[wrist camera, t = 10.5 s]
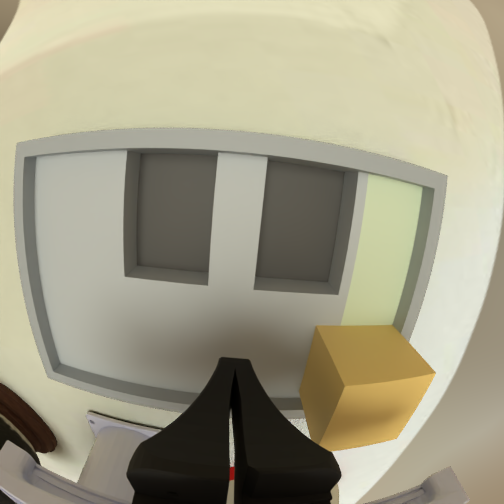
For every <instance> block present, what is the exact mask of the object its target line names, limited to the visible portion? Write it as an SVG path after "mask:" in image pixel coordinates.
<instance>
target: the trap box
mask: <svg viewBox="0 0 504 504" xmlns="http://www.w3.org/2000/svg"><path fill="white" fill-rule="evenodd" d="M447 177H448V176H447V175H444V174H442V173H439V172H436V171H433V170H430V169H427V168H424V167H421V166H417V165H414V164H411V163H408V162H404V161H401V160H397V159H394V158H390V157H386V156H382V155H379V154H375V153H371V152H366V151H362V150H358V149H353V148H349V147H344V146H339V145H334V144H329V143H324V142H319V141H313V140H307V139H301V138H294V137H287V136H280V135H272V134H264V133H255V132H245V131H233V130H219V129H199V128H134V129H115V130H101V131H90V132H81V133H72V134H65V135H58V136H51V137H45V138H39V139H34V140H29V141H24V142H19V143H17V145H16V155H15V169H14V227H15V240H16V250H17V259H18V266H19V273H20V279H21V285H22V290H23V295H24V300H25V305H26V309H27V313H28V317H29V321H30V325H31V329H32V332H33V336H34V339H35V342H36V345H37V349H38V352H39V355H40V358H41V360H42V363H43V366H44V369H45V371H46V374H47V377H48V378H50V379H53V380H55V381H58V382H60V383H63V384H66V385H69V386H72V387H75V388H78V389H81V390H84V391H87V392H90V393H94V394H97V395H100V396H104V397H108V398H111V399H115V400H119V401H123V402H127V403H132V404H136V405H141V406H146V407H151V408H156V409H162V410H167V411H174V412H180V413H183V412H184V411H185V410H186V409H187V408H188V407H189V406H190V405H191V404H192V403H193V402H194V401H195V399H196V398H197V397H198V396H199V394H200V393H201V392H202V390H203V389H204V388H205V386H206V385H207V383H208V381H209V380H210V378H211V376H212V375H213V373H214V371H215V369H216V366H217V364H218V361H219V358H221V357H229V358H242V359H249V360H250V361H251V364H252V367H253V369H254V371H255V374H256V376H257V378H258V380H259V382H260V383H261V385H262V387H263V388H264V390H265V392H266V393H267V395H268V396H269V398H270V399H271V401H272V402H273V403H274V405H275V406H276V407H277V408H278V410H279V411H280V412H281V413H282V414H283V415H284V417H285V418H286V419H301V418H305V414H304V410H303V406H302V402H301V398H300V394H299V389H300V386H301V382H302V378H303V375H304V371H305V367H306V364H307V360H308V356H309V352H310V348H311V344H312V340H313V336H314V331H315V327H316V325H335V326H361V325H393V326H394V327H395V328H396V329H397V330H398V331H399V332H400V334H401V335H402V336H403V337H404V338H405V339H406V340H407V341H408V342H409V340H410V338H411V335H412V332H413V330H414V327H415V324H416V321H417V318H418V315H419V312H420V309H421V306H422V303H423V300H424V296H425V293H426V290H427V286H428V282H429V279H430V275H431V271H432V267H433V263H434V259H435V254H436V250H437V245H438V240H439V235H440V229H441V224H442V218H443V211H444V204H445V196H446V187H447ZM230 418H232V413H231V411H230Z"/></svg>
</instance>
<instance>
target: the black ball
mask: <svg viewBox="0 0 504 504" xmlns="http://www.w3.org/2000/svg"><path fill="white" fill-rule="evenodd" d="M7 440H8V441H10V442H12V443H13V444H15V445H16V446H18V447H20V448H21V449H23V450H24V451H26V452H27V453H28V454H30V455H31V457H32V458H33V459H34V460H35V462H36V463H37V464H39V465H40V466H41V464H40V461H39V458H38V456H37V454H36V452H40V453H47V452H52V451H54V450H55V448H56V446H57V441H56V438H55V436H54V435H53V433H52V431H51V430H50V429H49V427H48V426H47V425H46V424H45V422H44V421H43V420H42V419H41V418H40V417H39V416H38V414H37V413H36V412H35V411H34V410H33V409H32V408H31V407H30V406H29V405H28V404H27V403H26V402H24V401H23V400H22V399H21V398H20V397H19V396H18V395H17V394H15V393H14V392H13V391H12V390H10V389H9V388H8V387H6V386H5V385H3V384H2V383H0V450H1V449H2V447H3V446H4V444H5V443H6V441H7ZM0 504H17V503H16V502H14V501H13V500H12V499H11V498H10V497H8V496H7V495H6V494H5V493H4V492H3V491H2V490H0Z"/></svg>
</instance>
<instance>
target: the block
mask: <svg viewBox="0 0 504 504" xmlns="http://www.w3.org/2000/svg"><path fill="white" fill-rule="evenodd" d="M435 374H436V373H435V371H434V370H433V369H432V368H431V367H430V366H429V365H428V363H427V362H426V361H425V360H424V359H423V358H422V357H421V355H420V354H419V353H418V352H417V351H416V350H415V349H414V348H413V347H412V346H411V344H410V343H409V342H408V341H407V340H406V339H405V338H404V337H403V336H402V335H401V334H400V332H399V331H398V330H397V329H396V328H395V327H394V326H393V325H361V326H335V325H316V327H315V331H314V336H313V340H312V344H311V348H310V352H309V356H308V360H307V364H306V367H305V371H304V375H303V378H302V382H301V386H300V389H299V394H300V398H301V402H302V406H303V410H304V414H305V418H306V422H307V426H308V429H309V433H310V437H311V440H312V441H313V442H315V443H316V444H318V445H320V446H322V447H323V448H325V449H327V450H328V451H338V450H344V449H351V448H356V447H362V446H367V445H372V444H376V443H381V442H385V441H389V440H393V439H396V438H397V437H398V436H399V434H400V433H401V431H402V430H403V428H404V427H405V425H406V424H407V422H408V421H409V419H410V418H411V416H412V415H413V413H414V411H415V410H416V408H417V406H418V405H419V403H420V401H421V400H422V398H423V396H424V394H425V393H426V391H427V389H428V387H429V385H430V384H431V382H432V380H433V378H434V376H435Z"/></svg>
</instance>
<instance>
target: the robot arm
mask: <svg viewBox="0 0 504 504" xmlns="http://www.w3.org/2000/svg"><path fill="white" fill-rule="evenodd" d="M230 411H231V413H232V425H233V436H234V449H235V462H234V504H331V502H330V501H331V500H332V494H331V490H332V489H333V487H334V486H335V485H336V484H337V483H338V481H339V480H340V478H341V471H340V468H339V465H338V463H337V461H336V459H335V457H334V455H333V453H332V452H330V451H328V450H327V449H325V448H323V447H322V446H320V445H318V444H316V443H315V442H313V441H312V440H311V439H309V438H308V437H306V436H305V435H304V434H303V433H302V432H300V431H299V430H298V429H297V428H296V427H295V426H294V425H292V424H291V423H290V422H289V421H288V420H287V419H286V418H285V417H284V415H283V414H282V413H281V412H280V411H279V410H278V408H277V407H276V406H275V405H274V403H273V402H272V401H271V399H270V398H269V396H268V395H267V393H266V392H265V390H264V388H263V387H262V385H261V383H260V382H259V380H258V378H257V376H256V374H255V371H254V369H253V367H252V364H251V361H250V360H249V359H242V358H229V357H221V358H219V361H218V364H217V366H216V369H215V371H214V373H213V375H212V376H211V378H210V380H209V381H208V383H207V385H206V386H205V388H204V389H203V390H202V392H201V393H200V394H199V396H198V397H197V398H196V399H195V401H194V402H193V403H192V404H191V405H190V406H189V407H188V408H187V409H186V410H185V411H184V412H183V413H182V414H181V415H180V416H179V417H178V418H177V419H176V420H175V421H173V422H172V423H171V424H169V425H168V426H167V427H165V428H164V429H163V430H160V429H154V428H149V427H145V426H140V425H136V424H131V423H127V422H123V421H120V420H116V419H112V418H109V417H105V416H102V415H98V414H95V413H92V412H87V414H86V418H87V420H88V422H89V424H90V427H91V429H92V431H93V433H94V435H95V437H96V440H95V442H94V445H93V447H92V449H91V451H90V454H89V456H88V458H87V461H86V463H85V465H84V468H83V470H82V472H81V475H80V477H79V480H78V482H77V483H75V482H73V481H71V480H68V479H66V478H64V477H62V476H60V475H58V474H56V473H54V472H52V471H50V470H48V469H46V468H44V467H42V466H40V465H39V464H37V463H36V462H35V460H34V459H33V458H32V457H31V455H30V454H28V453H27V452H26V451H24V450H23V449H21V448H20V447H18V446H16V445H15V444H13V443H12V442H10V441H8V440H7V441H6V443H5V444H4V446H3V447H2V449H1V450H0V490H2V491H3V492H4V493H5V494H6V495H7V496H8V497H10V498H11V499H12V500H13V501H14V502H16V503H17V504H226V503H227V496H228V489H229V482H230V458H229V418H230ZM468 501H469V497H468V496H467V494H466V492H465V490H464V488H463V487H462V485H461V483H460V482H459V480H458V478H457V476H456V475H455V473H454V471H453V470H452V468H451V466H449V467H447V468H445V469H443V470H441V471H438V472H436V473H434V474H432V475H431V476H429V477H428V478H427V479H425V480H424V481H423V483H422V484H421V485H418V486H416V487H413V488H411V489H408V490H406V491H403V492H400V493H397V494H394V495H392V496H389V497H385V498H382V499H379V500H375V501H372V502H368V503H365V504H466V503H467V502H468Z"/></svg>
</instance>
